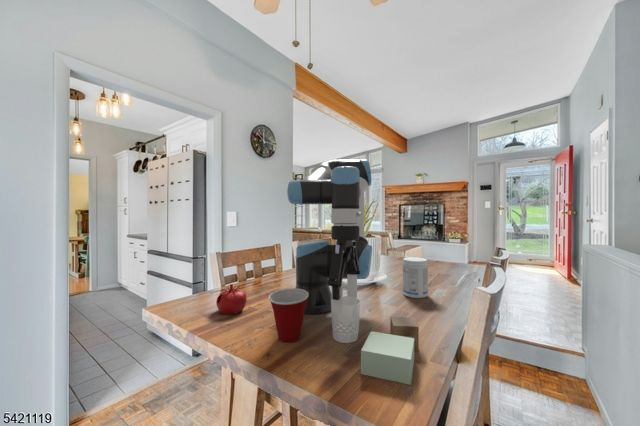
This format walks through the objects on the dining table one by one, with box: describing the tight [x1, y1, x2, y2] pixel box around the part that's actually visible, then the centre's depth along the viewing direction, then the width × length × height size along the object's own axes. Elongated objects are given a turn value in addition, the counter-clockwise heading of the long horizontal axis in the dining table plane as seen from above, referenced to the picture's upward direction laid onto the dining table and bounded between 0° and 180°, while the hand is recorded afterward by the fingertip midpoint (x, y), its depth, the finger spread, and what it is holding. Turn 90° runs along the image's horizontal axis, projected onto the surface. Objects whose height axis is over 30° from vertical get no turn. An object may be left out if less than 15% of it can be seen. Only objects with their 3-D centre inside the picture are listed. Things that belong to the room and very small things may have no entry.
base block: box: [360, 331, 415, 386], centre depth 62 cm, size 10×10×5 cm
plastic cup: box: [268, 287, 309, 343], centre depth 76 cm, size 11×11×12 cm
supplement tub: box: [402, 256, 429, 299], centre depth 114 cm, size 10×10×15 cm
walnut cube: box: [389, 316, 420, 352], centre depth 73 cm, size 6×6×6 cm
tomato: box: [215, 283, 248, 315], centre depth 97 cm, size 10×10×9 cm
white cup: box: [330, 295, 361, 344], centre depth 76 cm, size 8×8×10 cm
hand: (345, 304), depth 76 cm, fingers open, 13 cm apart
